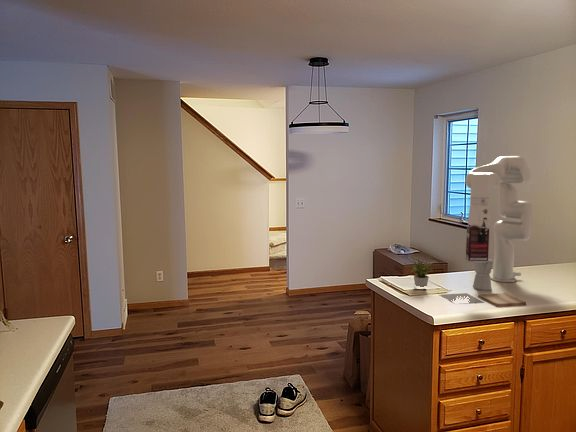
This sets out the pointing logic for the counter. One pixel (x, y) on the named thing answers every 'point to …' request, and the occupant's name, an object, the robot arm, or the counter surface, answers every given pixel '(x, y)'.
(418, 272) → the house plant
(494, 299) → the walnut board
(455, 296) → the plate
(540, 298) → the counter surface
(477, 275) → the coffee maker
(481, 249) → the supplement box
